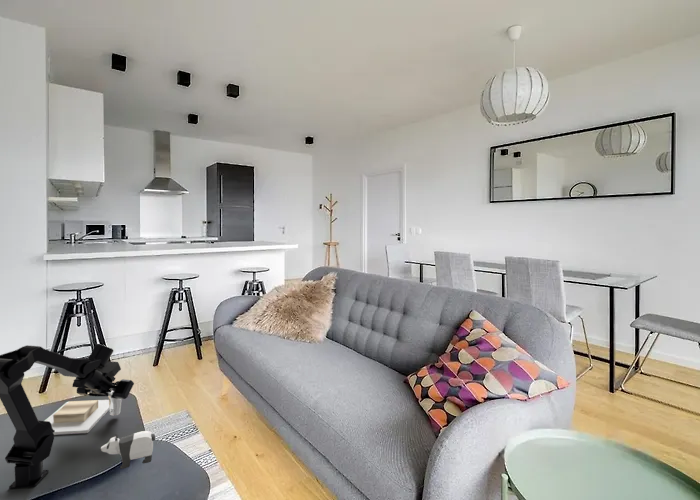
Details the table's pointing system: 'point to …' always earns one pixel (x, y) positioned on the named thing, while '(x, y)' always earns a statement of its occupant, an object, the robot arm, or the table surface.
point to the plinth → (75, 411)
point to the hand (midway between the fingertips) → (117, 395)
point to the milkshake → (114, 405)
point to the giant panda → (131, 447)
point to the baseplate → (80, 426)
